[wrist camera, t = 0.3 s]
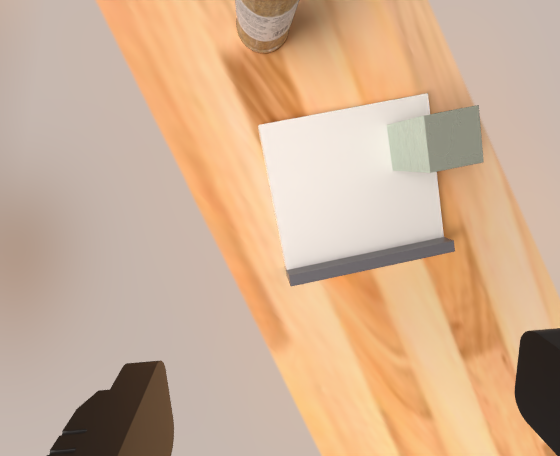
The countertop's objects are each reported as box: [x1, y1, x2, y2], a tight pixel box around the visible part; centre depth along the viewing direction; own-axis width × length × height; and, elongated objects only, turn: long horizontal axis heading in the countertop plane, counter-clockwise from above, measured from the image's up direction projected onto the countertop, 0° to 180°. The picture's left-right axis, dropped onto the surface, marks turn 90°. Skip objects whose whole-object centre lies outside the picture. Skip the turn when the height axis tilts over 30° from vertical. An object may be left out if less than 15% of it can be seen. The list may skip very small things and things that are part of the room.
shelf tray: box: [258, 93, 455, 286], centre depth 34 cm, size 14×15×3 cm
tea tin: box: [387, 105, 483, 173], centre depth 30 cm, size 4×4×7 cm
